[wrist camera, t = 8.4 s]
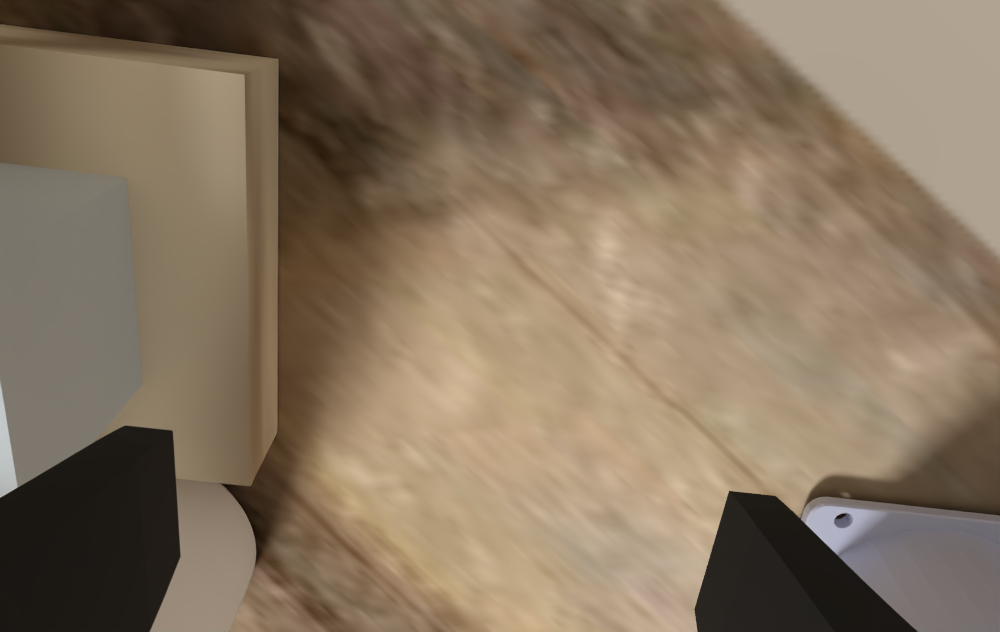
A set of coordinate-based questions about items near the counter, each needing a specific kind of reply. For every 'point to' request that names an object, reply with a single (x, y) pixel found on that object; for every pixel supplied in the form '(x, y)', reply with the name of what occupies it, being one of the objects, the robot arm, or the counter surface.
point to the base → (173, 220)
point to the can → (208, 561)
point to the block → (62, 315)
